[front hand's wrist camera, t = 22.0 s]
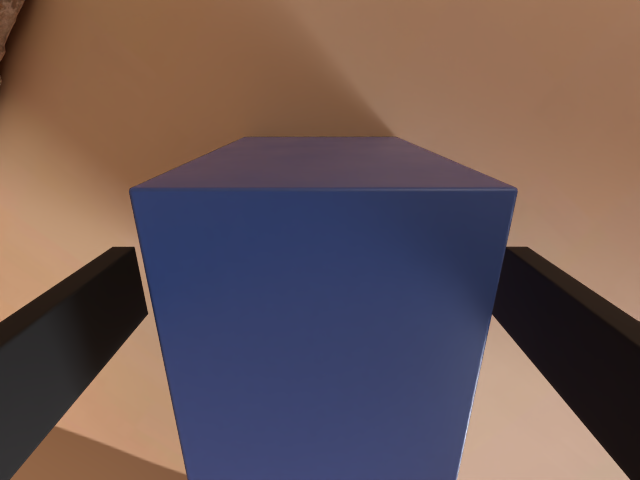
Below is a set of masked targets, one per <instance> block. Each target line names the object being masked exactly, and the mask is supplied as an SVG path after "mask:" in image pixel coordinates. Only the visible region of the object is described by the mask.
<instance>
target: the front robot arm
mask: <svg viewBox="0 0 640 480" xmlns="http://www.w3.org/2000/svg"><path fill="white" fill-rule="evenodd" d="M147 315H148V311H147V306H146V301H145V296H144V291H143V286H142V281H141V276H140V272H139V267H138V262H137V257H136V252H135V247H112V248H110V249H109V250H107V251H106V252H104V253H103V254H101V255H100V256H98V257H97V258H95V259H94V260H92V261H91V262H89V263H88V264H86V265H85V266H83V267H82V268H81V269H79V270H78V271H76V272H75V273H73V274H72V275H70V276H69V277H67V278H66V279H64V280H63V281H61V282H60V283H58V284H57V285H55V286H54V287H52V288H51V289H49V290H48V291H46V292H45V293H43V294H42V295H40V296H39V297H37V298H36V299H34V300H33V301H31V302H30V303H28V304H27V305H25V306H24V307H22V308H21V309H19V310H18V311H16V312H15V313H13V314H12V315H10V316H9V317H7V318H6V319H4V320H3V321H1V322H0V480H10V479H11V478H12V476H13V475H14V474H15V473H16V472H17V470H18V469H19V468H20V467H21V466H22V464H23V463H24V462H25V461H26V460H27V458H28V457H29V456H30V455H31V454H32V452H33V451H34V450H35V449H36V448H37V446H38V445H39V444H40V443H41V441H42V440H43V439H44V438H45V437H46V436H47V434H48V433H49V432H50V431H51V430H52V428H53V427H54V426H55V425H56V424H57V422H58V421H59V420H60V419H61V418H62V416H63V415H64V414H65V413H66V412H67V410H68V409H69V408H70V407H71V406H72V404H73V403H74V402H75V401H76V400H77V398H78V397H79V396H80V395H81V394H82V392H83V391H84V390H85V389H86V388H87V386H88V385H89V384H90V383H91V382H92V380H93V379H94V378H95V377H96V376H97V375H98V373H99V372H100V371H101V370H102V369H103V367H104V366H105V365H106V364H107V363H108V361H109V360H110V359H111V358H112V357H113V355H114V354H115V353H116V352H117V351H118V349H119V348H120V347H121V346H122V345H123V343H124V342H125V341H126V340H127V339H128V337H129V336H130V335H131V334H132V333H133V331H134V330H135V329H136V328H137V327H138V325H139V324H140V323H141V322H142V321H143V319H144V318H145V317H146V316H147ZM492 315H493V316H494V317H495V318H496V319H497V321H498V322H499V323H500V324H501V325H502V327H503V328H504V329H505V330H506V331H507V333H508V334H509V335H510V336H511V337H512V339H513V340H514V341H515V342H516V343H517V345H518V346H519V347H520V348H521V349H522V351H523V352H524V353H525V354H526V355H527V357H528V358H529V359H530V360H531V361H532V363H533V364H534V365H535V366H536V367H537V369H538V370H539V371H540V372H541V373H542V375H543V376H544V377H545V378H546V379H547V380H548V382H549V383H550V384H551V385H552V386H553V388H554V389H555V390H556V391H557V392H558V394H559V395H560V396H561V397H562V398H563V400H564V401H565V402H566V403H567V404H568V406H569V407H570V408H571V409H572V410H573V412H574V413H575V414H576V415H577V416H578V418H579V419H580V420H581V421H582V422H583V424H584V425H585V426H586V427H587V428H588V430H589V431H590V432H591V433H592V434H593V436H594V437H595V438H596V439H597V440H598V442H599V443H600V444H601V445H602V446H603V448H604V449H605V450H606V451H607V452H608V454H609V455H610V456H611V457H612V458H613V460H614V461H615V462H616V463H617V464H618V466H619V467H620V468H621V469H622V470H623V472H624V473H625V474H626V475H627V476H628V478H629V479H630V480H640V321H638V320H636V319H634V318H633V317H631V316H630V315H628V314H627V313H625V312H624V311H622V310H621V309H619V308H618V307H616V306H615V305H613V304H612V303H610V302H609V301H607V300H606V299H604V298H603V297H601V296H600V295H598V294H597V293H595V292H594V291H592V290H591V289H589V288H588V287H586V286H585V285H583V284H582V283H580V282H579V281H577V280H576V279H574V278H573V277H571V276H570V275H568V274H567V273H565V272H564V271H562V270H561V269H559V268H558V267H557V266H555V265H554V264H552V263H551V262H549V261H548V260H546V259H545V258H543V257H542V256H540V255H539V254H537V253H536V252H534V251H533V250H531V249H530V248H528V247H506V249H505V254H504V259H503V264H502V268H501V273H500V278H499V283H498V287H497V292H496V297H495V302H494V306H493V311H492Z"/></svg>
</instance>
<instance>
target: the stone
mask: <svg viewBox="0 0 640 480" xmlns="http://www.w3.org/2000/svg"><path fill="white" fill-rule="evenodd" d="M24 1H25V0H0V61H1V60H2V58H3V56H4V54H5V52H6V51H5V43H6V40H7V38H8V36H9V33H10V31H11V29H12V27H13V25H14V23H15V22H16V18H17V15H18V13H19V11H20V9H21V7H22V5H23V3H24ZM1 81H2V80H1V77H0V84H1Z"/></svg>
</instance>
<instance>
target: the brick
mask: <svg viewBox="0 0 640 480" xmlns="http://www.w3.org/2000/svg"><path fill="white" fill-rule="evenodd" d="M517 192H518V191H517V188H515V187H513V186H511V185H508V184H506V183H504V182H501V181H499V180H497V179H494V178H492V177H489V176H487V175H485V174H482V173H480V172H478V171H475V170H473V169H471V168H468V167H466V166H464V165H461V164H459V163H457V162H454V161H452V160H449V159H447V158H445V157H442V156H440V155H438V154H435V153H433V152H431V151H428V150H426V149H424V148H421V147H419V146H416V145H414V144H412V143H409V142H407V141H405V140H402V139H400V138H398V137H243V138H241V139H239V140H237V141H235V142H232V143H230V144H228V145H226V146H223V147H221V148H219V149H217V150H215V151H212V152H210V153H208V154H206V155H203V156H201V157H199V158H197V159H195V160H192V161H190V162H188V163H186V164H183V165H181V166H179V167H177V168H175V169H172V170H170V171H168V172H166V173H163V174H161V175H159V176H157V177H155V178H152V179H150V180H148V181H146V182H143V183H141V184H139V185H137V186H134V187H132V188H130V190H129V194H130V199H131V204H132V209H133V214H134V218H135V223H136V228H137V233H138V238H139V243H140V248H141V253H142V258H143V263H144V268H145V272H146V277H147V282H148V287H149V292H150V297H151V302H152V307H153V312H154V317H155V322H156V326H157V331H158V336H159V341H160V346H161V351H162V356H163V361H164V366H165V371H166V376H167V381H168V385H169V390H170V395H171V400H172V405H173V410H174V415H175V420H176V425H177V430H178V435H179V439H180V444H181V449H182V454H183V459H184V464H185V469H186V474H187V479H188V480H457V477H458V472H459V468H460V463H461V458H462V453H463V449H464V444H465V439H466V434H467V430H468V425H469V420H470V415H471V411H472V406H473V401H474V396H475V392H476V387H477V382H478V377H479V373H480V368H481V363H482V358H483V354H484V349H485V344H486V340H487V335H488V330H489V325H490V321H491V316H492V311H493V306H494V302H495V297H496V292H497V287H498V283H499V278H500V273H501V268H502V264H503V259H504V254H505V249H506V245H507V240H508V235H509V230H510V226H511V221H512V216H513V211H514V207H515V202H516V197H517Z"/></svg>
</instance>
